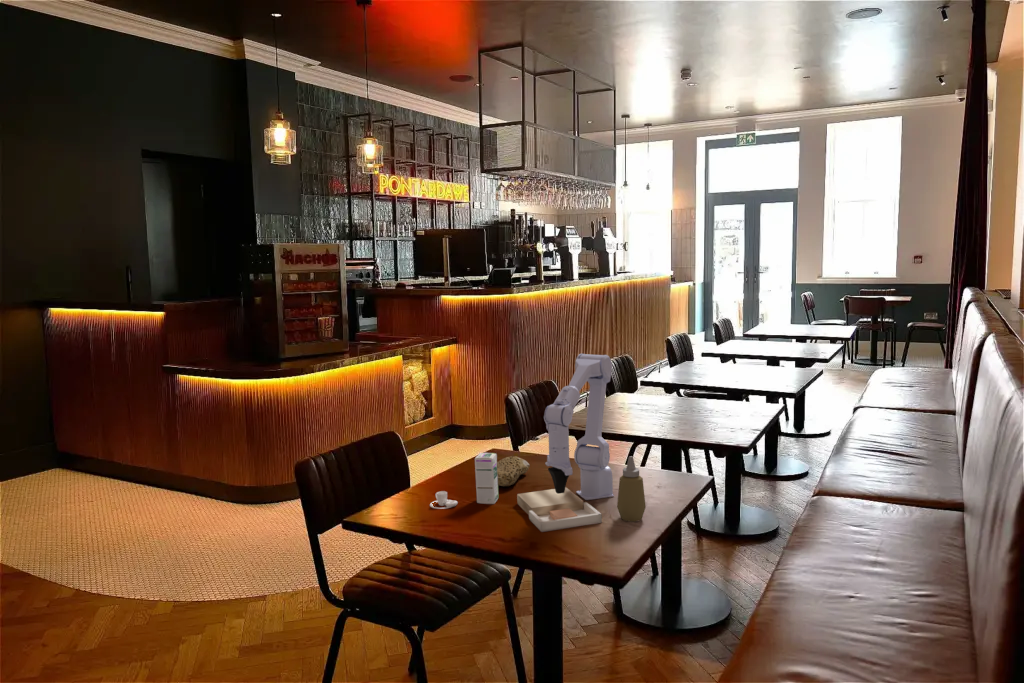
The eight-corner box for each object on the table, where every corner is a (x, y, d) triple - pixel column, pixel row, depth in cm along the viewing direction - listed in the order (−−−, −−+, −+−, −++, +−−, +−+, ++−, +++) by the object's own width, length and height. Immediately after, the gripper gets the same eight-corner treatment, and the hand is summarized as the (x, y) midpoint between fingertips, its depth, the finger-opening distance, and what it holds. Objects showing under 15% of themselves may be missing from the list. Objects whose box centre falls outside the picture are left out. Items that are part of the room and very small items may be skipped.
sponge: (505, 473, 253) (471, 477, 236) (510, 452, 252) (477, 454, 235) (536, 486, 245) (504, 491, 228) (542, 464, 245) (510, 467, 228)
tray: (586, 510, 211) (586, 502, 211) (601, 522, 201) (601, 514, 201) (529, 519, 205) (528, 510, 205) (541, 532, 196) (541, 523, 195)
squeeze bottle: (611, 516, 206) (610, 455, 204) (635, 511, 209) (635, 451, 207) (626, 525, 198) (626, 462, 196) (651, 520, 202) (651, 458, 199)
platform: (566, 496, 223) (566, 487, 223) (583, 510, 211) (583, 500, 211) (517, 503, 218) (517, 494, 218) (531, 518, 206) (531, 508, 206)
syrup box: (495, 504, 218) (493, 457, 217) (476, 503, 220) (474, 457, 218) (498, 497, 224) (497, 452, 222) (480, 497, 225) (478, 452, 223)
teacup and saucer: (461, 507, 218) (461, 494, 217) (437, 512, 214) (436, 499, 213) (448, 499, 225) (448, 486, 225) (425, 504, 221) (425, 491, 221)
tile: (569, 513, 208) (569, 508, 208) (577, 520, 202) (577, 515, 202) (549, 516, 206) (549, 511, 206) (557, 523, 200) (557, 518, 200)
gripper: (536, 441, 210) (538, 486, 211) (555, 454, 196) (556, 502, 198) (559, 438, 212) (560, 483, 214) (579, 451, 198) (580, 499, 200)
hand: (560, 492), depth 206 cm, fingers closed
